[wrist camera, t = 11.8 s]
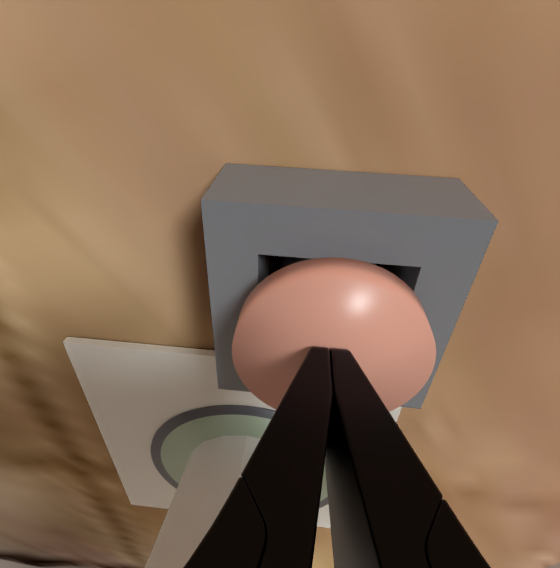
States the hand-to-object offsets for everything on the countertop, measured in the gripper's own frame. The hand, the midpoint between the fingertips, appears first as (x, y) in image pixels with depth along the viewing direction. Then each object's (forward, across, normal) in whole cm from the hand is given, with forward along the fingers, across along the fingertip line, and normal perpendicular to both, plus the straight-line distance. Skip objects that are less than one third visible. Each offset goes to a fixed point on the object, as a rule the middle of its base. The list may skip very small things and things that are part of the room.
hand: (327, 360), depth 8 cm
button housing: (+4, 0, 0) cm, 4 cm away
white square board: (+4, +3, +10) cm, 12 cm away
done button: (+5, 0, 0) cm, 5 cm away
